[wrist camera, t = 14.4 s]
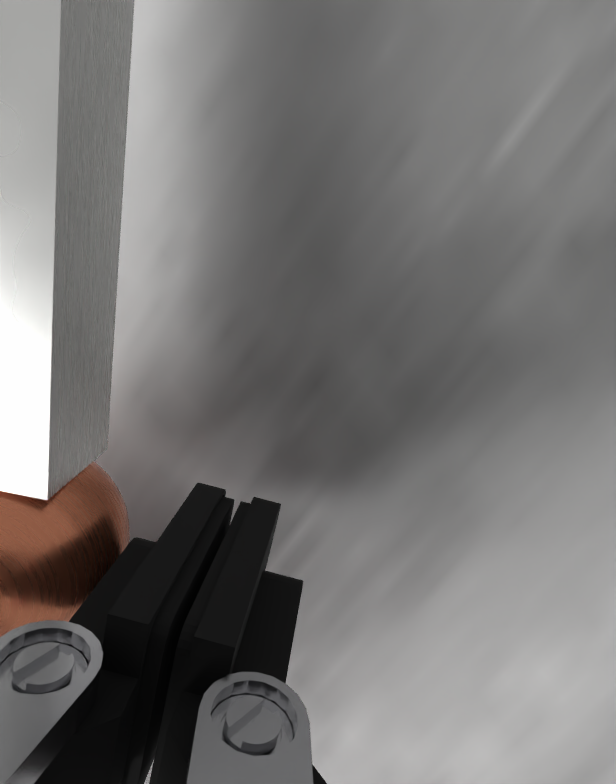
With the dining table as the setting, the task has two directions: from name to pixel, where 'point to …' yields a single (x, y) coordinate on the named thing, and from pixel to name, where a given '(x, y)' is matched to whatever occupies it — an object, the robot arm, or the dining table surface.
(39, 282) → the lever
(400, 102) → the dining table surface
